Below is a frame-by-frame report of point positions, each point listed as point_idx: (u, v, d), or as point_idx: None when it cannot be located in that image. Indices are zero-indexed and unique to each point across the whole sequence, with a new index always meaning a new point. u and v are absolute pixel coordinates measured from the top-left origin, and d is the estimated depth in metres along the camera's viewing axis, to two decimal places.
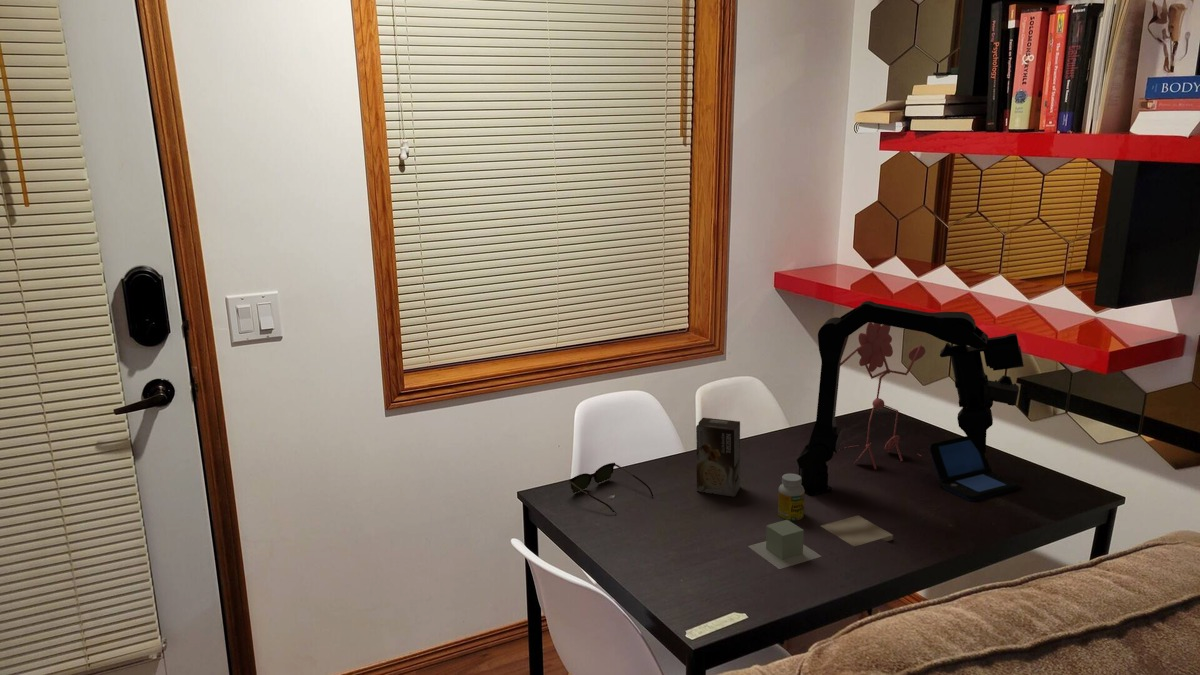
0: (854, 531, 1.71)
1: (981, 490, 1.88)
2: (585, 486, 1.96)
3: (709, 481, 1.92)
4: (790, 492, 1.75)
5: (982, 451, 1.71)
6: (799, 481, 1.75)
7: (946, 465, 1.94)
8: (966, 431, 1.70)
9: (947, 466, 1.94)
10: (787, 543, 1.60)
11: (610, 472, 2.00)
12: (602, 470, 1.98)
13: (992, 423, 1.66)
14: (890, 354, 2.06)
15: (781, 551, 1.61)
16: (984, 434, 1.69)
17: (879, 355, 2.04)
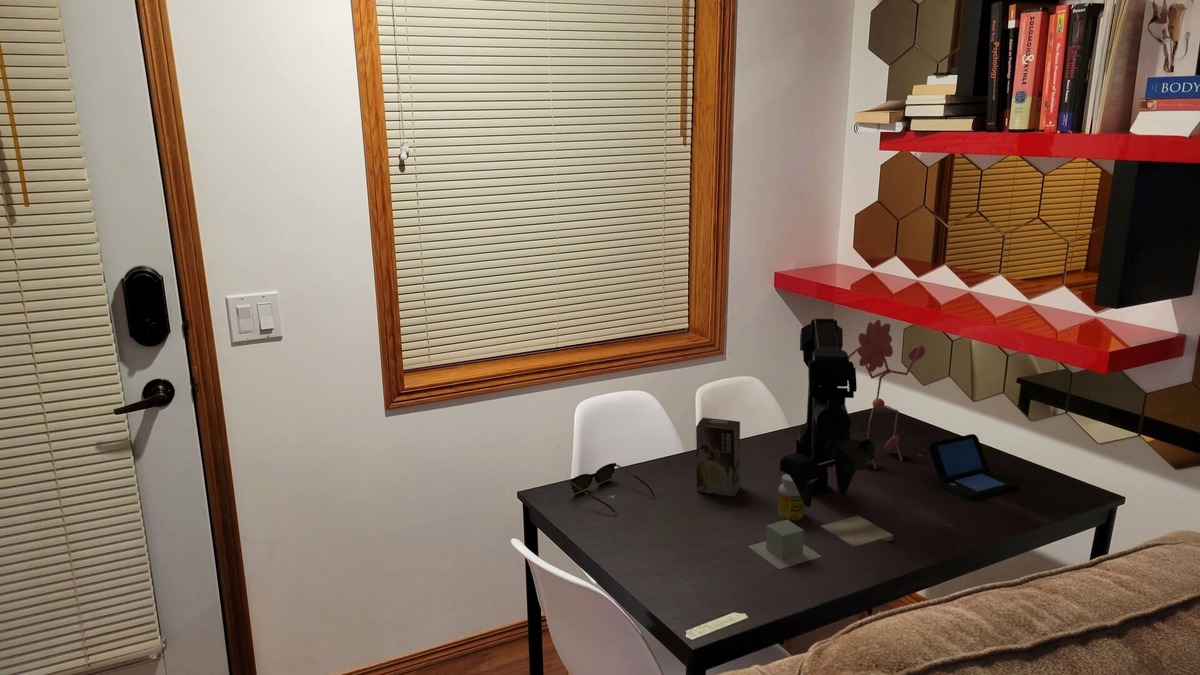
0: (854, 531, 1.71)
1: (980, 489, 1.88)
2: (586, 486, 1.95)
3: (709, 481, 1.92)
4: (790, 492, 1.75)
5: (806, 504, 1.56)
6: None
7: (945, 465, 1.94)
8: (792, 477, 1.56)
9: (946, 466, 1.94)
10: (787, 543, 1.60)
11: (611, 472, 2.00)
12: (603, 470, 1.98)
13: (804, 479, 1.50)
14: (890, 354, 2.06)
15: (781, 551, 1.61)
16: (806, 487, 1.54)
17: (879, 355, 2.04)
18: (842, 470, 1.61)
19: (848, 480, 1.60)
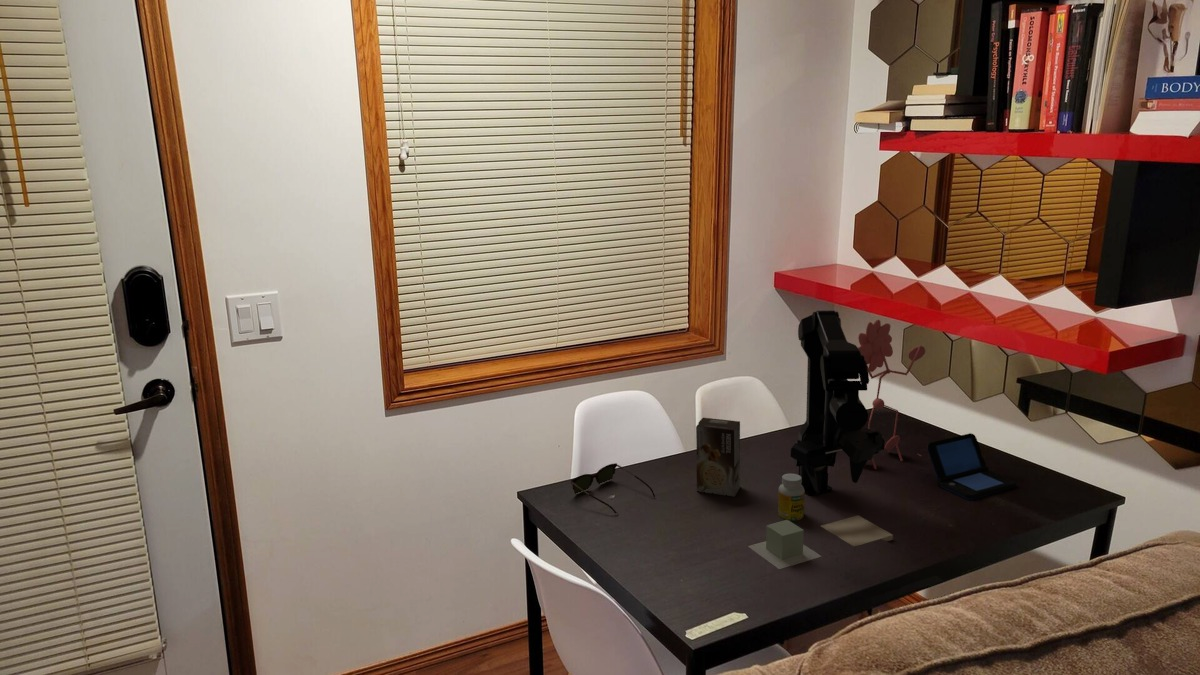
0: (854, 531, 1.71)
1: (979, 489, 1.88)
2: (587, 487, 1.95)
3: (709, 481, 1.92)
4: (790, 492, 1.75)
5: (816, 489, 1.65)
6: (799, 481, 1.75)
7: (944, 464, 1.94)
8: None
9: (945, 465, 1.94)
10: (787, 543, 1.60)
11: (612, 472, 2.00)
12: (604, 471, 1.98)
13: (811, 466, 1.59)
14: (890, 354, 2.06)
15: (781, 551, 1.61)
16: (815, 474, 1.62)
17: (879, 355, 2.04)
18: None
19: (860, 468, 1.67)
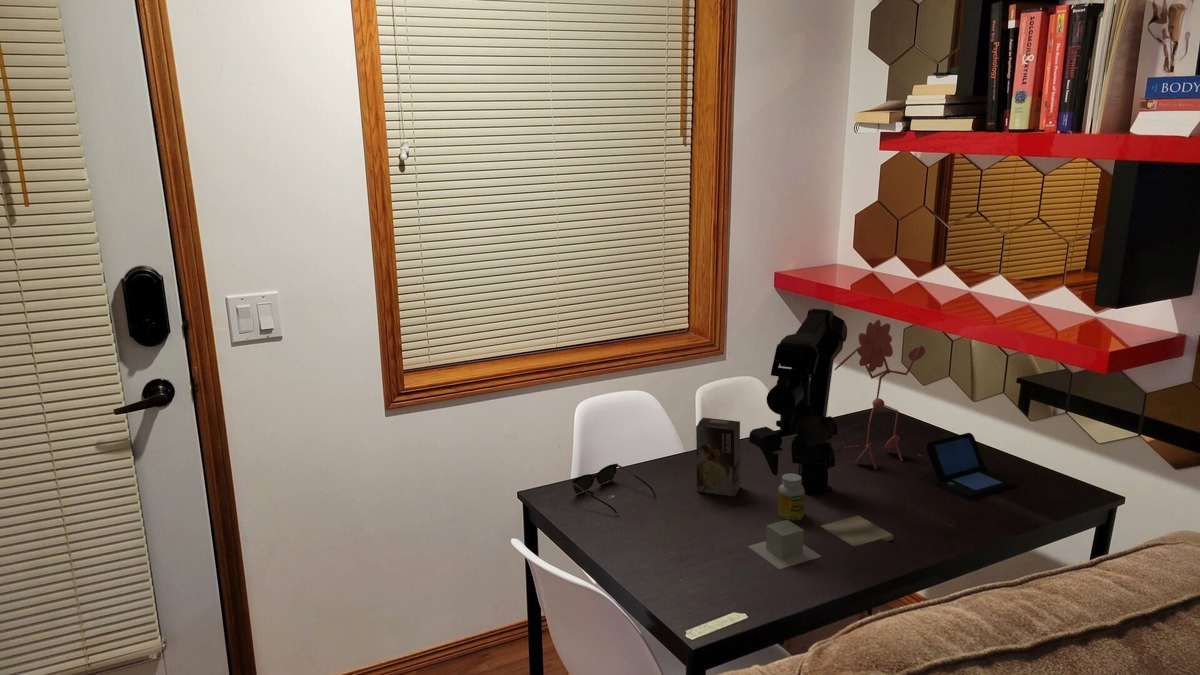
0: (854, 531, 1.71)
1: (978, 488, 1.89)
2: (588, 487, 1.95)
3: (709, 481, 1.92)
4: (790, 492, 1.75)
5: (773, 473, 1.74)
6: (799, 481, 1.75)
7: (942, 464, 1.95)
8: None
9: (943, 465, 1.95)
10: (787, 543, 1.60)
11: (613, 473, 2.00)
12: (605, 471, 1.98)
13: (768, 450, 1.68)
14: (890, 354, 2.06)
15: (781, 551, 1.61)
16: (772, 458, 1.72)
17: (879, 355, 2.04)
18: None
19: (815, 452, 1.77)
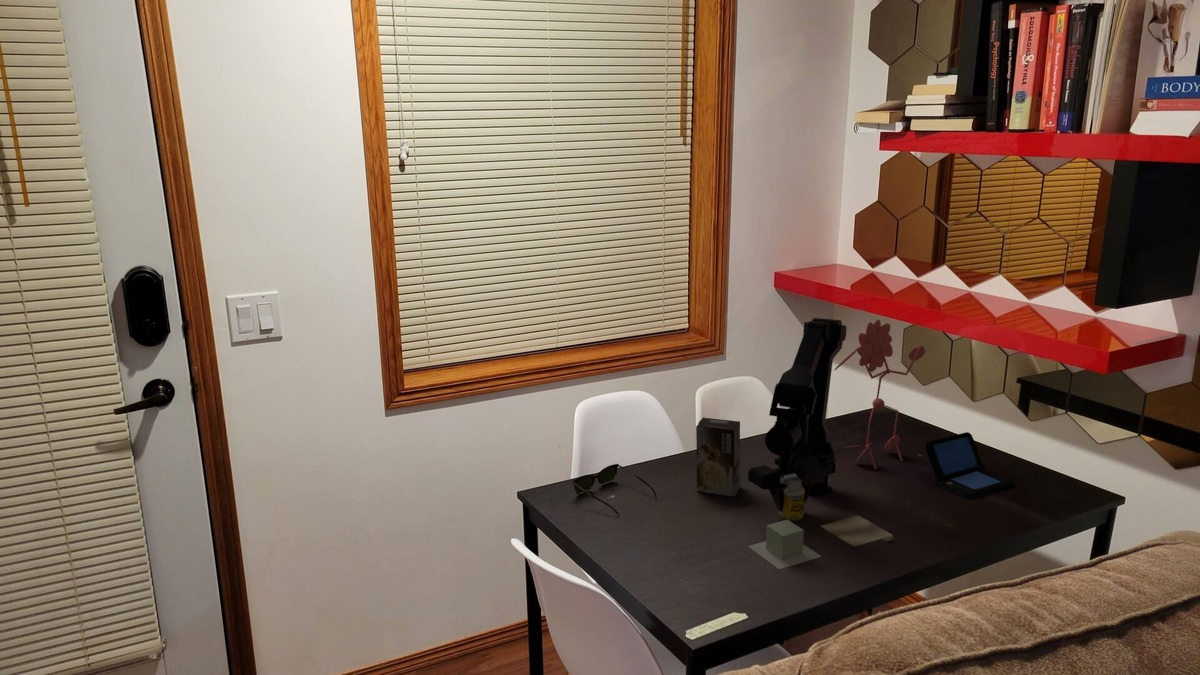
0: (854, 531, 1.71)
1: (977, 487, 1.89)
2: (588, 487, 1.95)
3: (709, 481, 1.92)
4: (790, 492, 1.75)
5: (778, 509, 1.77)
6: (799, 481, 1.75)
7: (941, 463, 1.95)
8: None
9: (942, 464, 1.95)
10: (787, 543, 1.60)
11: (614, 473, 2.00)
12: (606, 471, 1.98)
13: (766, 489, 1.70)
14: (890, 354, 2.06)
15: (781, 551, 1.61)
16: (777, 494, 1.75)
17: (879, 355, 2.04)
18: (802, 483, 1.79)
19: (806, 492, 1.78)
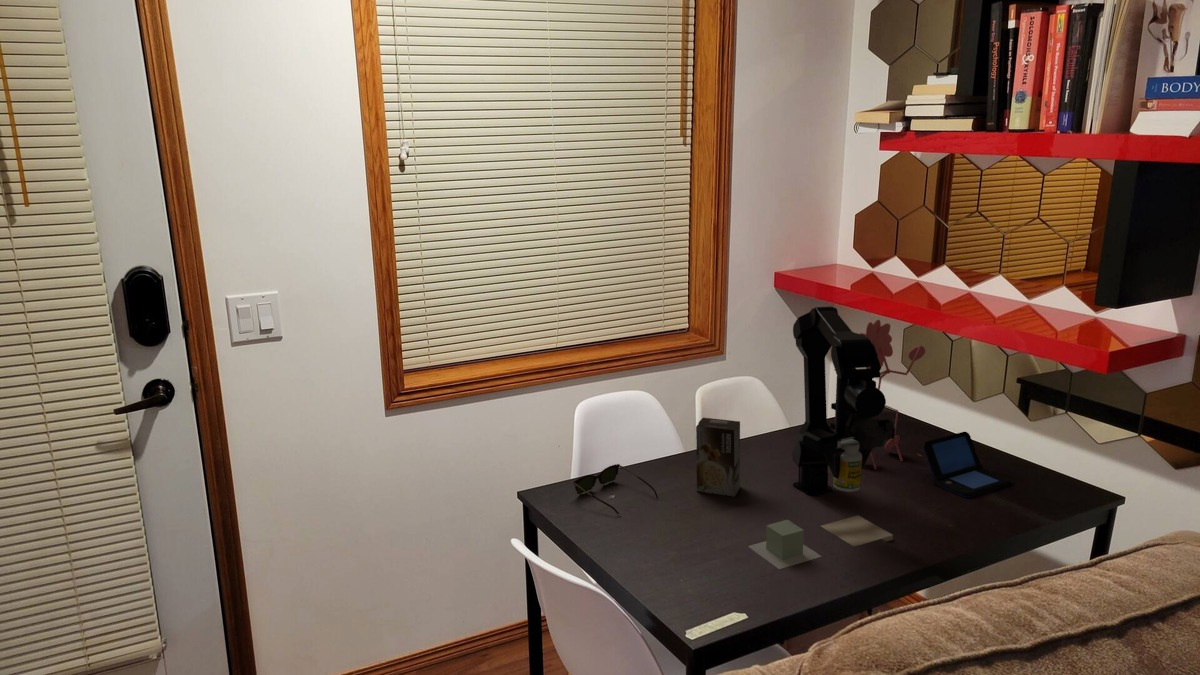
0: (854, 531, 1.71)
1: (976, 486, 1.89)
2: (589, 487, 1.95)
3: (709, 481, 1.92)
4: (847, 457, 1.66)
5: (834, 475, 1.68)
6: (857, 446, 1.66)
7: (940, 463, 1.95)
8: None
9: (941, 464, 1.95)
10: (787, 543, 1.60)
11: (615, 473, 2.00)
12: (607, 471, 1.97)
13: (823, 453, 1.62)
14: (890, 354, 2.06)
15: (781, 551, 1.61)
16: (834, 460, 1.66)
17: (879, 355, 2.04)
18: (859, 448, 1.70)
19: (864, 458, 1.69)
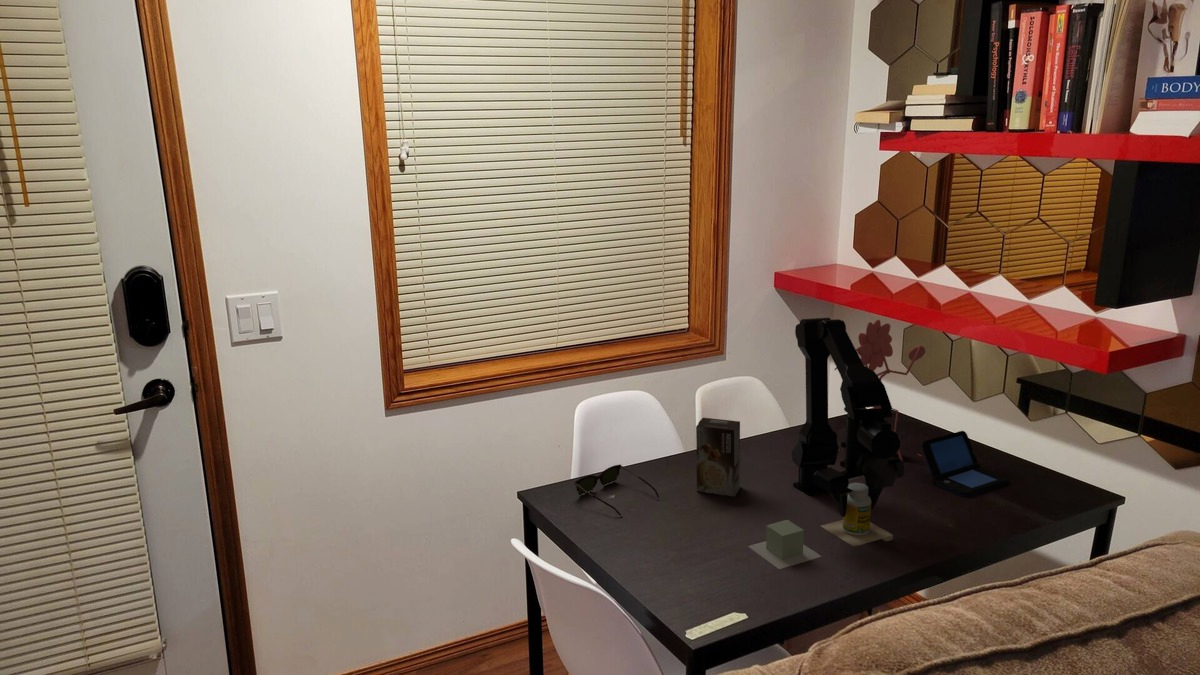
0: None
1: (974, 486, 1.90)
2: (591, 488, 1.95)
3: (709, 481, 1.92)
4: (857, 503, 1.67)
5: (841, 514, 1.69)
6: (866, 491, 1.68)
7: (938, 462, 1.95)
8: None
9: (939, 463, 1.96)
10: (787, 543, 1.60)
11: (616, 474, 1.99)
12: (608, 472, 1.97)
13: (834, 493, 1.62)
14: (890, 354, 2.06)
15: (781, 551, 1.61)
16: (841, 499, 1.66)
17: (879, 355, 2.04)
18: (871, 485, 1.71)
19: (877, 494, 1.70)
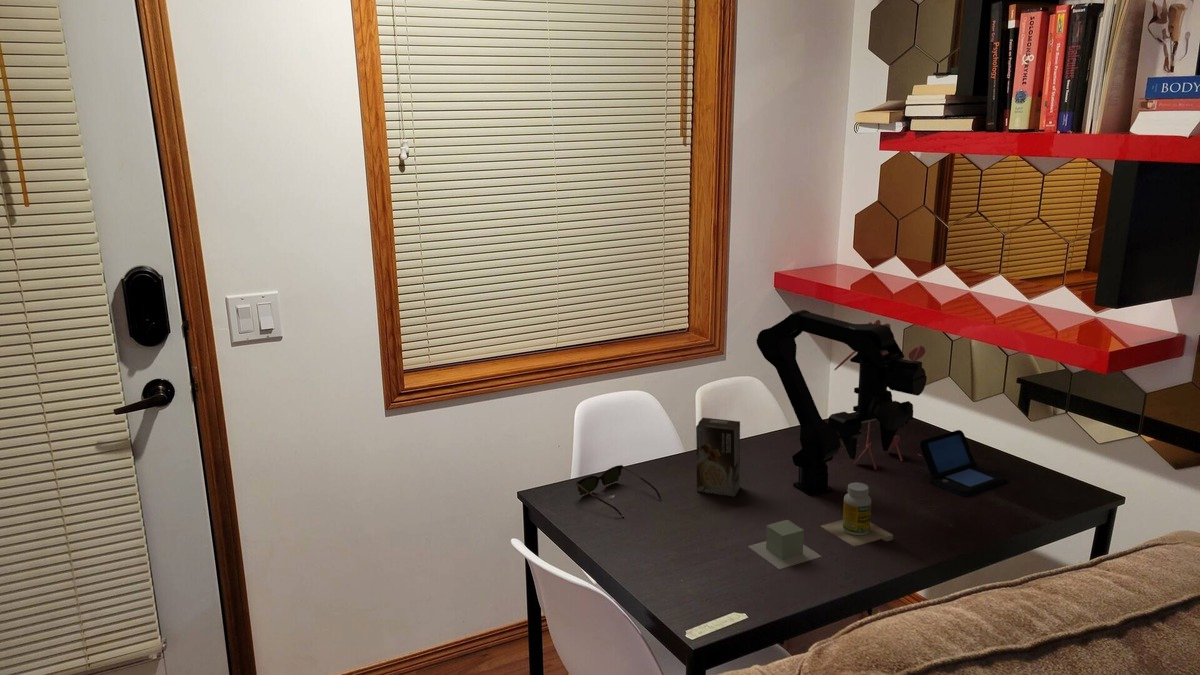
0: None
1: (972, 484, 1.90)
2: (592, 488, 1.94)
3: (709, 481, 1.92)
4: (857, 502, 1.67)
5: (851, 457, 1.79)
6: (866, 491, 1.68)
7: (936, 461, 1.96)
8: (839, 432, 1.79)
9: (937, 462, 1.96)
10: (787, 543, 1.60)
11: (618, 474, 1.99)
12: (610, 472, 1.97)
13: (848, 434, 1.73)
14: None
15: (781, 551, 1.61)
16: (851, 442, 1.77)
17: None
18: (886, 428, 1.82)
19: (890, 437, 1.81)
